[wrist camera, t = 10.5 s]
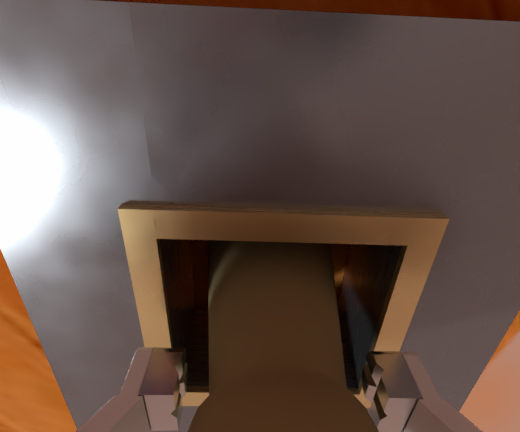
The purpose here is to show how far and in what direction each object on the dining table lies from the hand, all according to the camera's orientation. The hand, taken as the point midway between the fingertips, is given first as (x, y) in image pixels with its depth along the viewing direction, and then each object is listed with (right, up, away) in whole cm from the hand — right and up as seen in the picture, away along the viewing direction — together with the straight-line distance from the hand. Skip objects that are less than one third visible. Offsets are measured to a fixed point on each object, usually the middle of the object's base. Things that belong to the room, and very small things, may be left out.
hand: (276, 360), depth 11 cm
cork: (0, +3, +6) cm, 6 cm away
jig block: (0, +3, +5) cm, 6 cm away
